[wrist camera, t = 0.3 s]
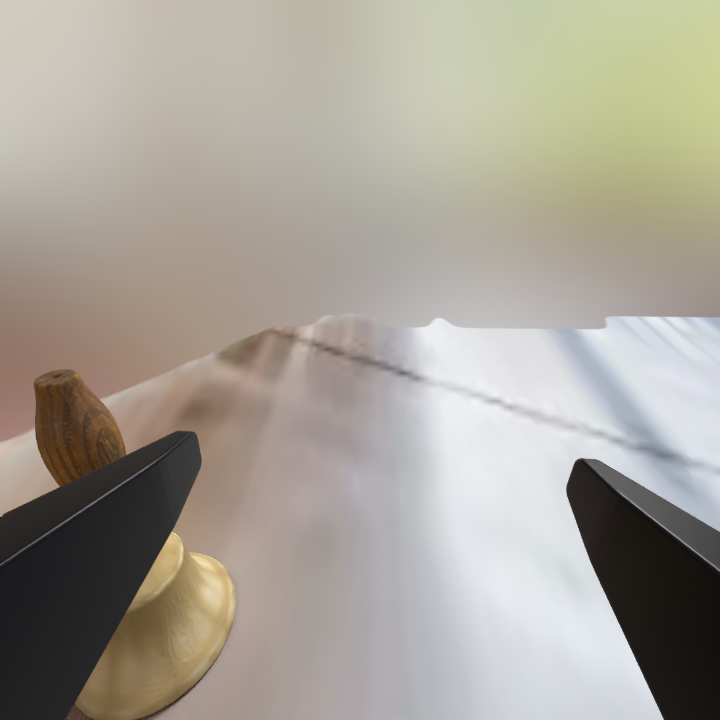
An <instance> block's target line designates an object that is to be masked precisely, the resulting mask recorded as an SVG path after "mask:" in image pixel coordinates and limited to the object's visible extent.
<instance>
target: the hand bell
mask: <svg viewBox="0 0 720 720" xmlns="http://www.w3.org/2000/svg"><path fill="white" fill-rule="evenodd" d="M34 388H35V395H36V416H35V432H36V440H37V445H38V449H39V452H40V454H41V457H42V459H43V461H44V463H45V465H46V467H47V469H48V470H49V472H50V473H51V475H52V476H53V478H54V479H55V481H56V482H57V483H58V485H59V486H60V487H61V486H63V485H65V484H67V483H69V482H72V481H74V480H76V479H78V478H80V477H82V476H84V475H86V474H88V473H90V472H92V471H94V470H97V469H99V468H101V467H103V466H105V465H107V464H109V463H111V462H113V461H115V460H117V459H120V458H122V457H124V456H126V450H125V446H124V442H123V439H122V436H121V433H120V430H119V427H118V425H117V422H116V420H115V419H114V417H113V416H112V414H111V413H110V411H109V410H108V409H107V407H106V406H105V405H104V404H103V403H102V402H101V401H100V399H99V398H98V397H97V396H96V395H95V394H94V393H93V392H92V391H91V390H90V389H89V388H88V387H87V386H86V385H85V383H84V382H83V381H82V379H81V378H80V376H79V375H78V374H77V372H76V371H74V370H70V369H62V370H56V371H52V372H49V373H45V374H43V375H41V376H39V377H38V378H36V379H35V381H34ZM235 610H236V592H235V587H234V583H233V580H232V578H231V576H230V574H229V572H228V571H227V570H226V568H225V567H224V566H223V565H222V564H221V563H219V562H218V561H217V560H215V559H213V558H211V557H209V556H206V555H203V554H200V553H195V552H188V551H187V550H186V548H185V546H184V544H183V542H182V540H181V538H180V537H179V536H177V535H176V534H175V533H174V532H171V534H170V536H169V538H168V539H167V541H166V543H165V545H164V546H163V548H162V550H161V552H160V553H159V555H158V557H157V559H156V561H155V562H154V564H153V566H152V568H151V569H150V571H149V573H148V575H147V576H146V578H145V580H144V582H143V584H142V585H141V587H140V589H139V591H138V592H137V594H136V596H135V598H134V599H133V601H132V603H131V605H130V607H129V608H128V610H127V612H126V614H125V615H124V617H123V619H122V621H121V622H120V624H119V626H118V628H117V630H116V631H115V633H114V635H113V637H112V638H111V640H110V642H109V644H108V645H107V647H106V649H105V651H104V653H103V654H102V656H101V658H100V660H99V661H98V663H97V665H96V667H95V668H94V670H93V672H92V674H91V676H90V677H89V679H88V681H87V683H86V684H85V686H84V688H83V690H82V691H81V693H80V695H79V697H78V699H77V700H76V702H75V706H76V707H77V708H78V709H79V710H80V711H81V712H82V713H84V714H85V715H86V716H88V717H90V718H92V719H95V720H137V719H140V718H142V717H145V716H148V715H151V714H153V713H155V712H157V711H159V710H161V709H163V708H165V707H166V706H168V705H169V704H171V703H172V702H174V701H175V700H177V699H178V698H179V697H180V696H182V695H183V694H184V693H186V692H187V691H188V690H189V689H190V688H191V687H193V686H194V685H195V684H196V683H197V682H198V680H199V679H200V678H201V677H202V676H203V675H204V674H205V673H206V672H207V671H208V669H209V668H210V667H211V665H212V664H213V663H214V661H215V660H216V658H217V657H218V655H219V654H220V652H221V650H222V648H223V646H224V644H225V642H226V640H227V638H228V635H229V633H230V630H231V626H232V623H233V621H234V616H235Z"/></svg>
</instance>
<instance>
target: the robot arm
mask: <svg viewBox="0 0 720 720" xmlns="http://www.w3.org/2000/svg"><path fill="white" fill-rule="evenodd" d="M201 462H202V459H201V453H200V448H199V442H198V437H197V435H196V433H194V432H192V431H176V432H174V433H172V434H170V435H167V436H165V437H163V438H161V439H159V440H157V441H155V442H153V443H151V444H149V445H147V446H145V447H142V448H140V449H138V450H136V451H134V452H132V453H130V454H128V455H126V456H124V457H122V458H120V459H117V460H115V461H113V462H111V463H109V464H107V465H105V466H103V467H101V468H99V469H97V470H94V471H92V472H90V473H88V474H86V475H84V476H82V477H80V478H78V479H76V480H74V481H72V482H69V483H67V484H65V485H63V486H61V487H59V488H57V489H55V490H53V491H51V492H49V493H47V494H44V495H42V496H40V497H38V498H36V499H34V500H32V501H30V502H28V503H26V504H24V505H22V506H19V507H17V508H15V509H13V510H11V511H9V512H7V513H5V514H3V516H2V517H0V720H66V718H67V716H68V714H69V713H70V711H71V709H72V707H73V706H74V704H75V702H76V700H77V699H78V697H79V695H80V693H81V691H82V690H83V688H84V686H85V684H86V683H87V681H88V679H89V677H90V676H91V674H92V672H93V670H94V668H95V667H96V665H97V663H98V661H99V660H100V658H101V656H102V654H103V653H104V651H105V649H106V647H107V645H108V644H109V642H110V640H111V638H112V637H113V635H114V633H115V631H116V630H117V628H118V626H119V624H120V622H121V621H122V619H123V617H124V615H125V614H126V612H127V610H128V608H129V607H130V605H131V603H132V601H133V599H134V598H135V596H136V594H137V592H138V591H139V589H140V587H141V585H142V584H143V582H144V580H145V578H146V576H147V575H148V573H149V571H150V569H151V568H152V566H153V564H154V562H155V561H156V559H157V557H158V555H159V553H160V552H161V550H162V548H163V546H164V545H165V543H166V541H167V539H168V538H169V536H170V534H171V532H172V530H173V528H174V526H175V524H176V522H177V520H178V518H179V516H180V513H181V511H182V509H183V507H184V504H185V502H186V500H187V497H188V495H189V493H190V491H191V488H192V486H193V484H194V482H195V479H196V477H197V475H198V472H199V470H200V467H201ZM566 492H567V497H568V500H569V503H570V506H571V508H572V511H573V514H574V517H575V520H576V523H577V526H578V528H579V531H580V534H581V537H582V540H583V543H584V546H585V548H586V551H587V554H588V556H589V559H590V562H591V564H592V566H593V568H594V571H595V573H596V575H597V577H598V579H599V581H600V584H601V586H602V588H603V590H604V592H605V594H606V596H607V599H608V601H609V603H610V605H611V607H612V609H613V611H614V614H615V616H616V618H617V620H618V622H619V624H620V626H621V629H622V631H623V633H624V635H625V637H626V639H627V641H628V644H629V646H630V648H631V650H632V652H633V654H634V656H635V659H636V661H637V663H638V665H639V667H640V669H641V672H642V674H643V676H644V678H645V680H646V682H647V684H648V687H649V689H650V691H651V693H652V695H653V697H654V699H655V702H656V704H657V706H658V708H659V710H660V712H661V714H662V717H663V719H664V720H720V532H719V531H717V530H715V529H714V528H712V527H710V526H709V525H707V524H705V523H703V522H702V521H700V520H698V519H697V518H695V517H693V516H692V515H690V514H688V513H687V512H685V511H683V510H682V509H680V508H678V507H677V506H675V505H673V504H671V503H670V502H668V501H666V500H665V499H663V498H661V497H660V496H658V495H656V494H655V493H653V492H651V491H650V490H648V489H646V488H645V487H643V486H641V485H640V484H638V483H636V482H634V481H633V480H631V479H629V478H628V477H626V476H624V475H623V474H621V473H619V472H618V471H616V470H614V469H613V468H611V467H609V466H608V465H606V464H604V463H603V462H601V461H599V460H596V459H584V458H580V459H577V460H576V461H575V463H574V466H573V469H572V472H571V474H570V477H569V480H568V483H567V488H566Z"/></svg>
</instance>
